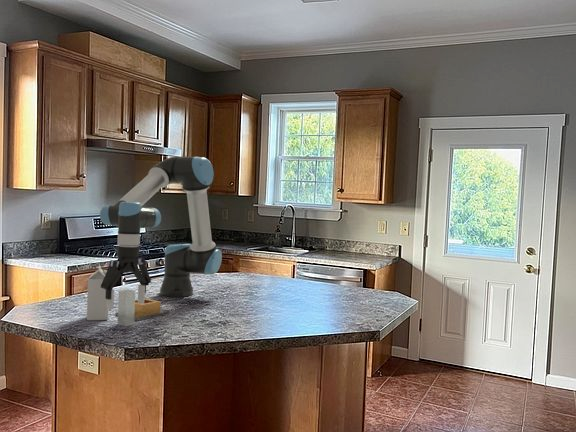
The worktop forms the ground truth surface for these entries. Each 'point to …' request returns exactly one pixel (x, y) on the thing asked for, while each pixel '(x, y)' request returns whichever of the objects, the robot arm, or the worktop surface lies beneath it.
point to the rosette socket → (147, 309)
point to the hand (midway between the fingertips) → (125, 305)
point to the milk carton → (97, 297)
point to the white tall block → (126, 307)
